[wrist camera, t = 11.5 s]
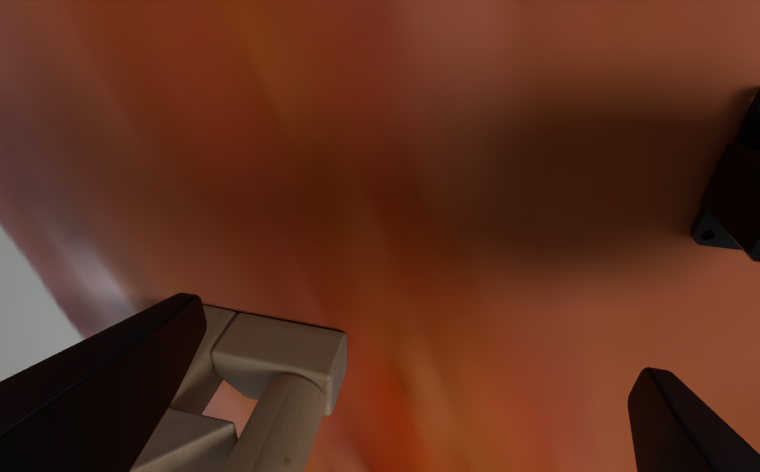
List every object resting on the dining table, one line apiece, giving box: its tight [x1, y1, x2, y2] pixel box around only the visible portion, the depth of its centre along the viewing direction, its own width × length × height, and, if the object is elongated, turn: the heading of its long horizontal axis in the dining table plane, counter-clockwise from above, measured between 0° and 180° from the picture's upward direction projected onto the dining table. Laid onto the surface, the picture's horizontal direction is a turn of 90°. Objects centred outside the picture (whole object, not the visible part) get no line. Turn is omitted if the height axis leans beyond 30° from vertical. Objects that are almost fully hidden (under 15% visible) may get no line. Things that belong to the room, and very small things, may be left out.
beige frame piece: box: [130, 305, 347, 472], centre depth 20 cm, size 4×11×18 cm, turn 87°
